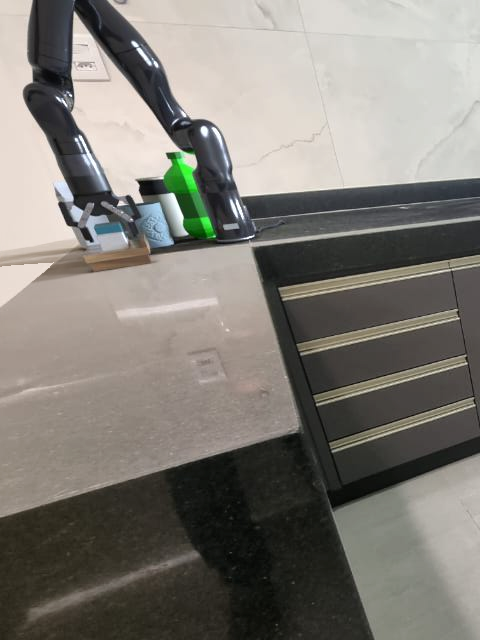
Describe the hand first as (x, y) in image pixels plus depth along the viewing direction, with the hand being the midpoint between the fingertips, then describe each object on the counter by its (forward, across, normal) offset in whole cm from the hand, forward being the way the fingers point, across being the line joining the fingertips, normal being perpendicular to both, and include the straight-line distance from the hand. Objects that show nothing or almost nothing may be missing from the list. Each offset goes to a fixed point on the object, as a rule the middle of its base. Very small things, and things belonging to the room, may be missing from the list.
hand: (114, 239), depth 137 cm
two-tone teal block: (+2, 0, -2) cm, 2 cm away
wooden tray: (+6, 0, -2) cm, 6 cm away
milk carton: (+6, -6, +33) cm, 34 cm away
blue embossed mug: (+6, +7, +19) cm, 21 cm away
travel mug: (+6, +12, +34) cm, 36 cm away
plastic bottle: (+6, +19, +22) cm, 30 cm away
